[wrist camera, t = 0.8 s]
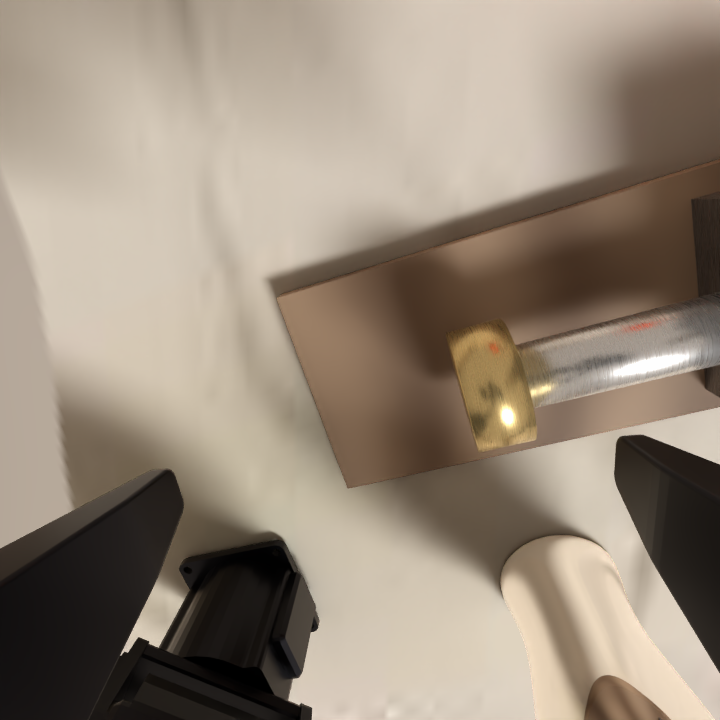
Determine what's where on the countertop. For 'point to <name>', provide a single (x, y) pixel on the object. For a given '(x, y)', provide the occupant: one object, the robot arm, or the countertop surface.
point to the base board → (489, 302)
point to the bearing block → (708, 261)
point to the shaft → (574, 364)
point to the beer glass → (588, 638)
